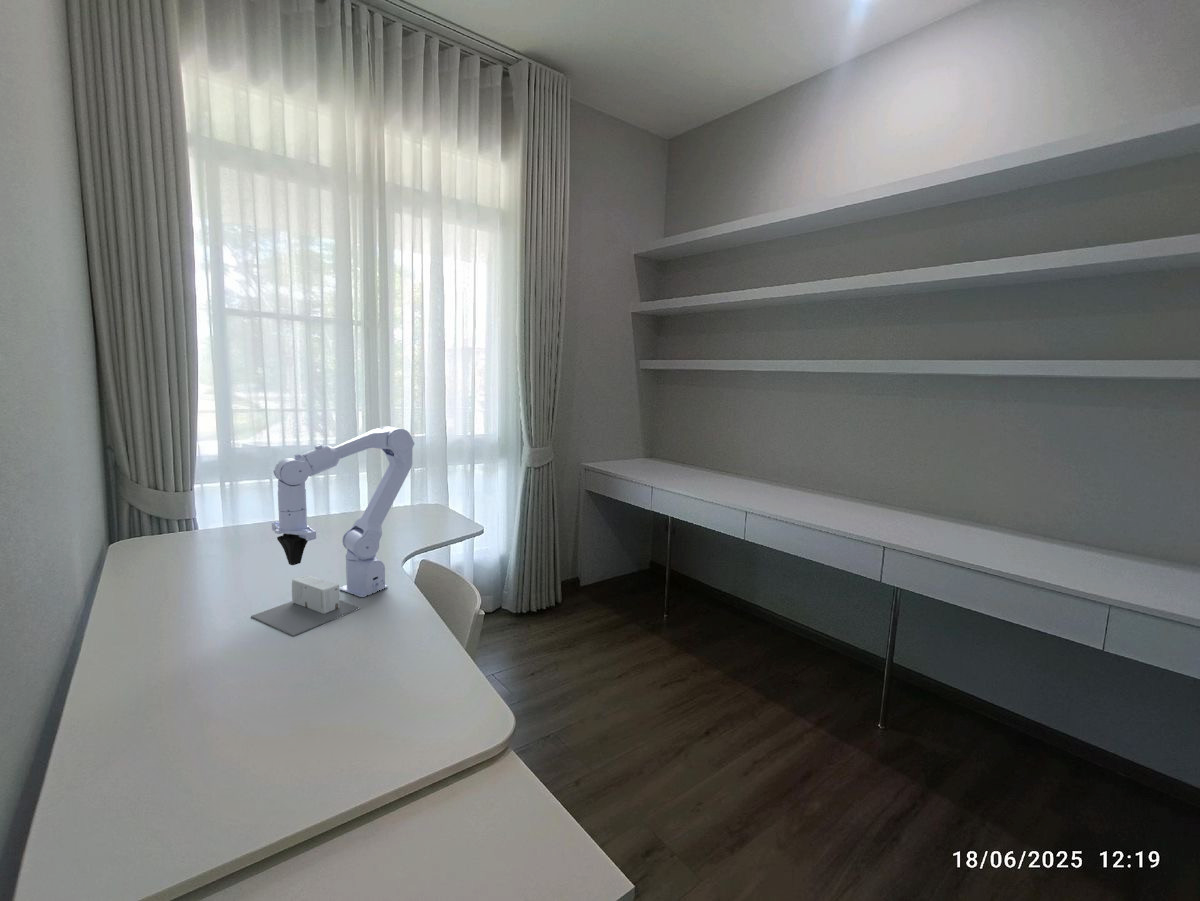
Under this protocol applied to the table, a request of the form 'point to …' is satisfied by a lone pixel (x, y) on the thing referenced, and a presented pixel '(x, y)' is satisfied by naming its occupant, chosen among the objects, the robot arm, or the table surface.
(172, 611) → the table surface
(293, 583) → the skincare box
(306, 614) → the mat
